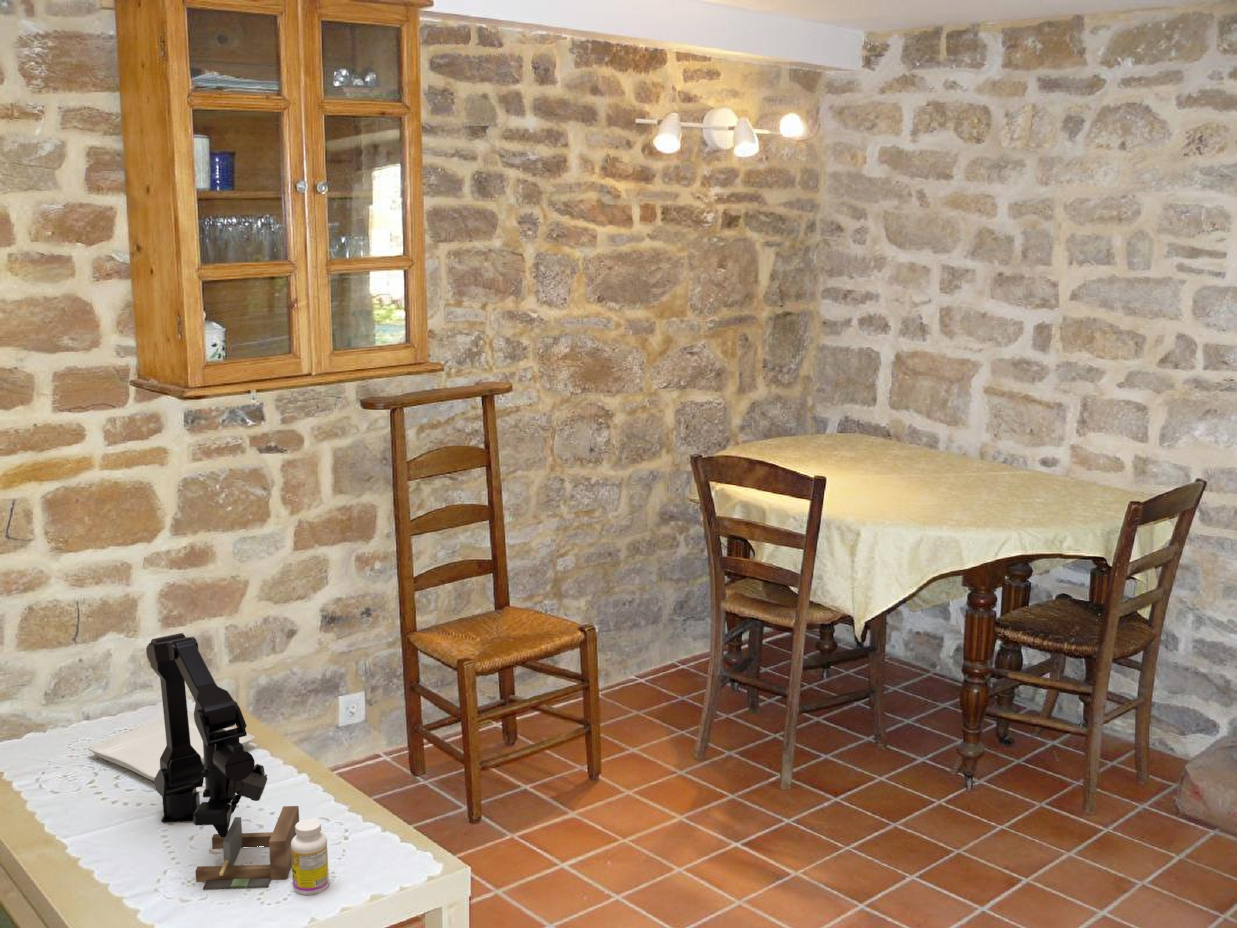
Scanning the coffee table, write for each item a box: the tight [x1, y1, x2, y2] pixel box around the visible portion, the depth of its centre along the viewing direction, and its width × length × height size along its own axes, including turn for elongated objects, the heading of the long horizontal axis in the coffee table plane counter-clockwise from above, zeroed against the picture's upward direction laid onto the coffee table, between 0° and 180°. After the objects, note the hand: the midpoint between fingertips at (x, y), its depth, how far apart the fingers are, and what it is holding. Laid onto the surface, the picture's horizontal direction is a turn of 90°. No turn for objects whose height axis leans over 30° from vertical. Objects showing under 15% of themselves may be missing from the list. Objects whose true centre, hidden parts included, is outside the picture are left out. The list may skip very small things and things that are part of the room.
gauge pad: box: [219, 816, 243, 876], centre depth 239 cm, size 1×15×6 cm, turn 4°
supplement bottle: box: [291, 818, 330, 896], centre depth 232 cm, size 7×7×13 cm
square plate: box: [87, 710, 256, 782], centre depth 290 cm, size 27×27×4 cm
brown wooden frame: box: [195, 805, 300, 891], centre depth 240 cm, size 17×17×8 cm
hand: (224, 836), depth 241 cm, fingers closed
